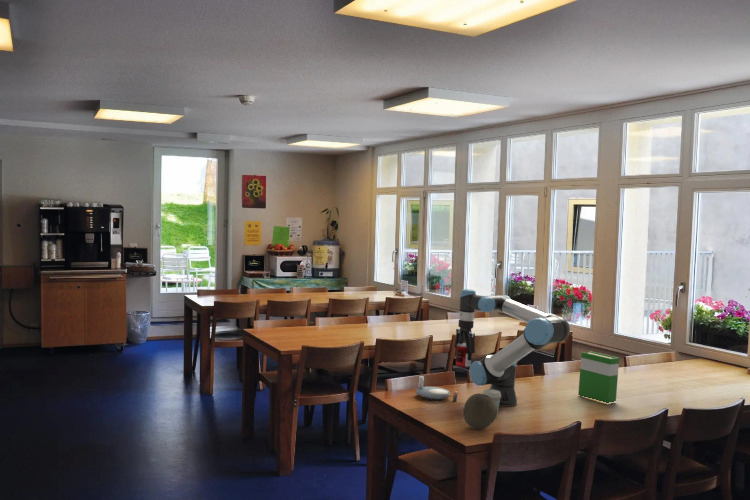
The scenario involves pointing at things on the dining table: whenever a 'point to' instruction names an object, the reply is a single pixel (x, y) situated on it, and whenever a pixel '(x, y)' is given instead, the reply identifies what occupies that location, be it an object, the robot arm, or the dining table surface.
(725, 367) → the dining table surface
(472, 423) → the cantaloupe
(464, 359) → the canned food
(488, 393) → the coffee cup
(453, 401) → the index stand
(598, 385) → the hardback book
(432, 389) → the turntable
